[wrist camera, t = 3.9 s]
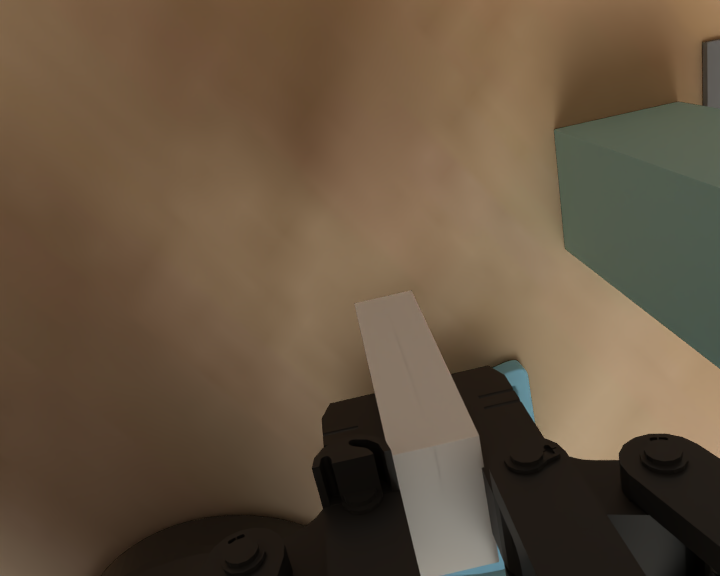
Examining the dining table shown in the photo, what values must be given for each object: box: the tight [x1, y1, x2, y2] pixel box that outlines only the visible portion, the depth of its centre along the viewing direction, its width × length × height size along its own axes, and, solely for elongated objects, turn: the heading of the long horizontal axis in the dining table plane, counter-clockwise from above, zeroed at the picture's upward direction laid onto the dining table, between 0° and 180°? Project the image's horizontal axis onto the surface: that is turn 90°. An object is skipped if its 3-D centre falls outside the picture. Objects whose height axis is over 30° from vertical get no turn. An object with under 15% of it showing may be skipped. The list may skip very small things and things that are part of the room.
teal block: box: [554, 102, 720, 369], centre depth 21 cm, size 5×5×11 cm
